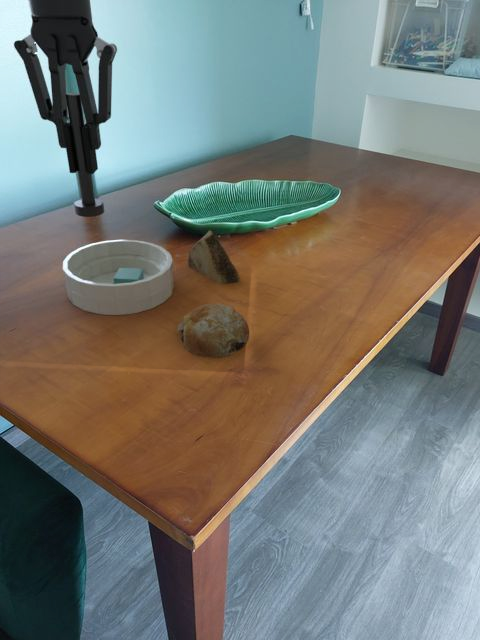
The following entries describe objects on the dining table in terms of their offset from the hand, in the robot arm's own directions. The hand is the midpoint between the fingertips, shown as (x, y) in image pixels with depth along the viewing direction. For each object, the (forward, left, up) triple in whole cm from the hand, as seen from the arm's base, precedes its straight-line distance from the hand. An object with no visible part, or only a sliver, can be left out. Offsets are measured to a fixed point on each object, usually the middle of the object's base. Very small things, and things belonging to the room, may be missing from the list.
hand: (84, 170), depth 80 cm
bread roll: (+21, -14, -21) cm, 32 cm away
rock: (+19, +8, -21) cm, 29 cm away
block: (+6, -2, -20) cm, 21 cm away
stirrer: (0, 0, -6) cm, 6 cm away
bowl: (+4, 0, -21) cm, 21 cm away
